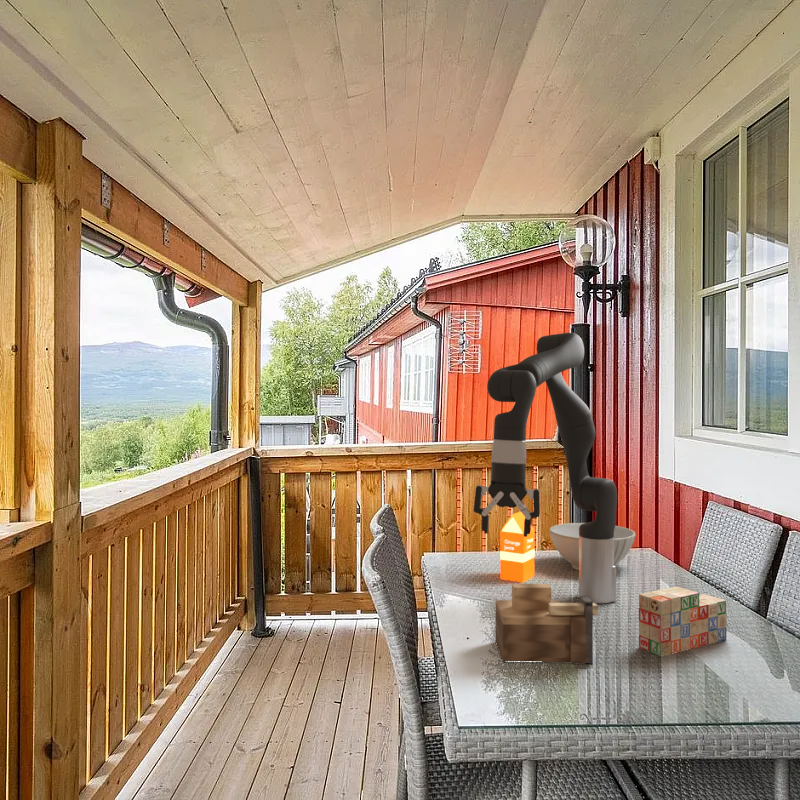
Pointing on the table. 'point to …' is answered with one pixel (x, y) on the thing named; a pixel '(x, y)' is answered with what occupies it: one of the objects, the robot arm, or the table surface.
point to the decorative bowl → (568, 542)
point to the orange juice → (516, 550)
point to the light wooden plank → (569, 609)
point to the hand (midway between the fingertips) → (505, 534)
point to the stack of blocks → (679, 620)
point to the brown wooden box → (549, 639)
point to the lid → (529, 606)
